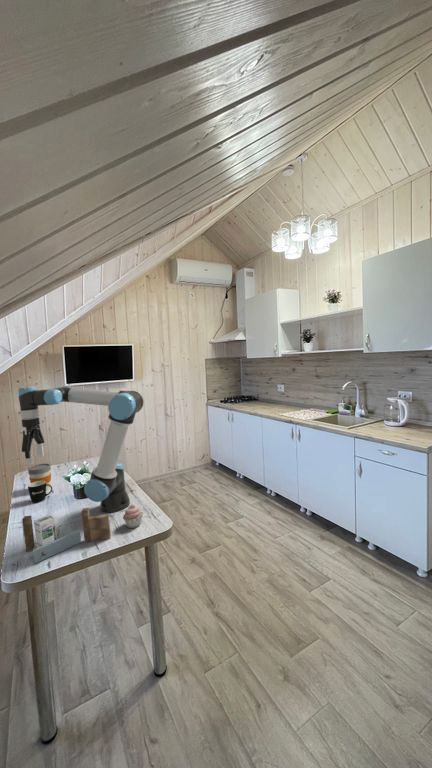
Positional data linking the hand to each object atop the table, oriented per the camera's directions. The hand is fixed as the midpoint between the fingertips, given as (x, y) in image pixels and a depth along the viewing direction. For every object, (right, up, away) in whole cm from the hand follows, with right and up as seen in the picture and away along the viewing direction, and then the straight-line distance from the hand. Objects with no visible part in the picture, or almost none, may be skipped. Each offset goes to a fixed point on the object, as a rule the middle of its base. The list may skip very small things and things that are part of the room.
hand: (35, 460), depth 157 cm
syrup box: (+21, -32, -27) cm, 46 cm away
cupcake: (+51, -28, -9) cm, 59 cm away
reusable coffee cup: (-20, -29, +43) cm, 56 cm away
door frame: (+27, -31, -21) cm, 46 cm away
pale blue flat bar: (+26, -31, -28) cm, 49 cm away
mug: (-12, -30, +27) cm, 42 cm away
